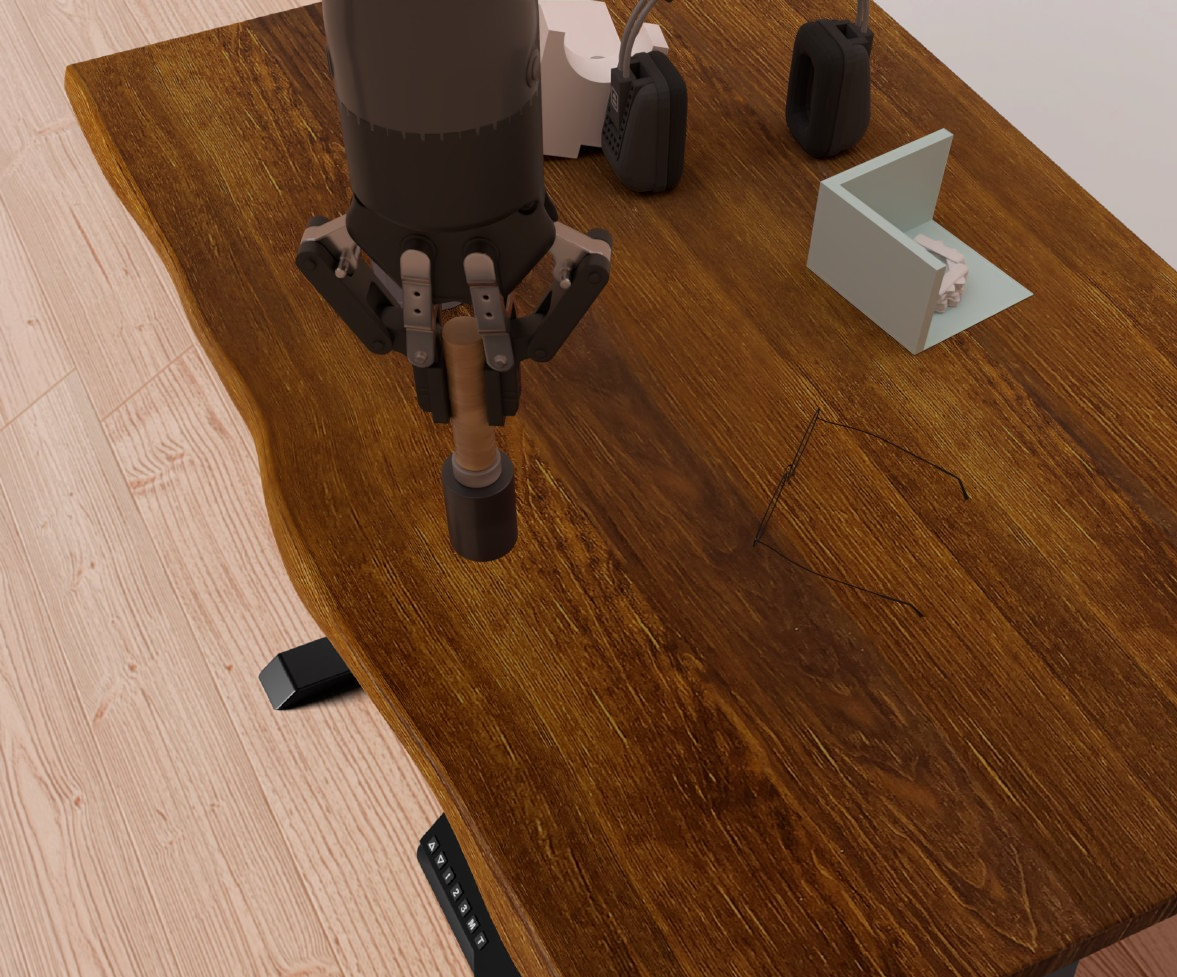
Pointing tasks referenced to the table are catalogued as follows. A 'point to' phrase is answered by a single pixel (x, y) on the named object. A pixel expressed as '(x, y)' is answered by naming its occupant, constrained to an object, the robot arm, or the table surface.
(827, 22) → the headphones
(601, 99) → the white notched block
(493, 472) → the cylinder with wooden handle
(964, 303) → the l-shaped corner panel
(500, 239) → the robot arm
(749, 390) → the table surface
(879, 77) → the table surface
